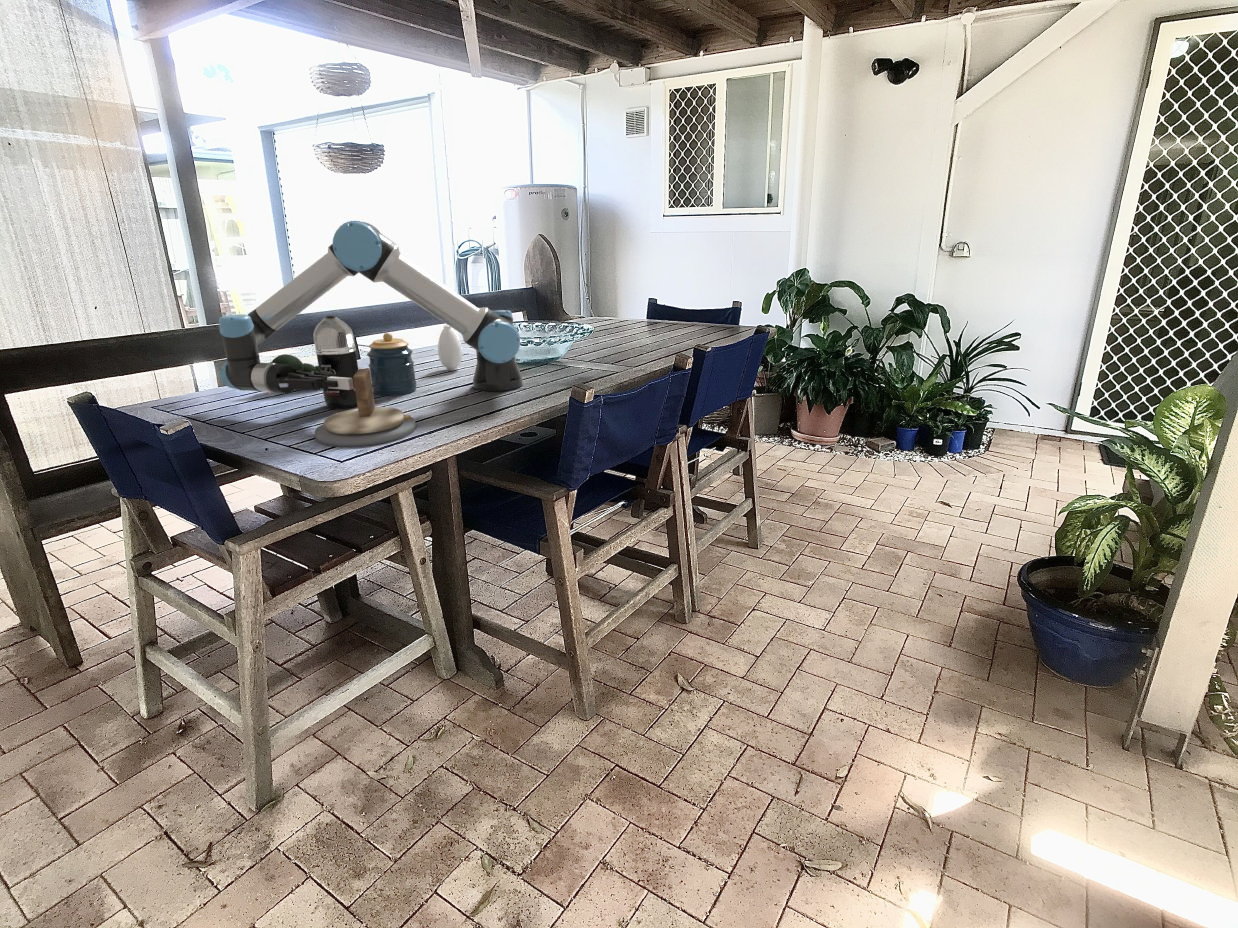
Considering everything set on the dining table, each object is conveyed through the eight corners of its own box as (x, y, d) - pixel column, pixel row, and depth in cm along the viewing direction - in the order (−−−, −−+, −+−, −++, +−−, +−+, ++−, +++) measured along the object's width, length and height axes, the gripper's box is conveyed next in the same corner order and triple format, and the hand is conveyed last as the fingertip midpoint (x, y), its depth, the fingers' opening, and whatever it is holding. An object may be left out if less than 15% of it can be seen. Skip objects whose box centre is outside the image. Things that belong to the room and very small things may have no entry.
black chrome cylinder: (350, 410, 176) (335, 317, 167) (317, 409, 178) (300, 317, 169) (371, 401, 185) (358, 312, 177) (339, 399, 187) (324, 312, 179)
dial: (407, 410, 167) (401, 366, 163) (400, 431, 150) (393, 382, 146) (333, 415, 164) (326, 370, 160) (317, 436, 147) (308, 387, 143)
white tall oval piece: (455, 373, 220) (449, 319, 214) (435, 371, 222) (429, 318, 216) (467, 368, 227) (463, 316, 220) (448, 367, 229) (443, 315, 223)
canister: (392, 398, 188) (384, 337, 182) (363, 393, 195) (354, 334, 189) (426, 389, 199) (419, 331, 193) (397, 384, 205) (390, 328, 199)
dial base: (419, 415, 171) (418, 409, 170) (411, 442, 149) (410, 434, 149) (326, 421, 166) (325, 414, 166) (305, 450, 145) (303, 442, 144)
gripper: (297, 386, 175) (370, 392, 168) (258, 398, 163) (335, 405, 156) (292, 359, 172) (366, 363, 165) (252, 369, 160) (329, 374, 153)
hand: (351, 384), depth 160 cm, fingers closed
